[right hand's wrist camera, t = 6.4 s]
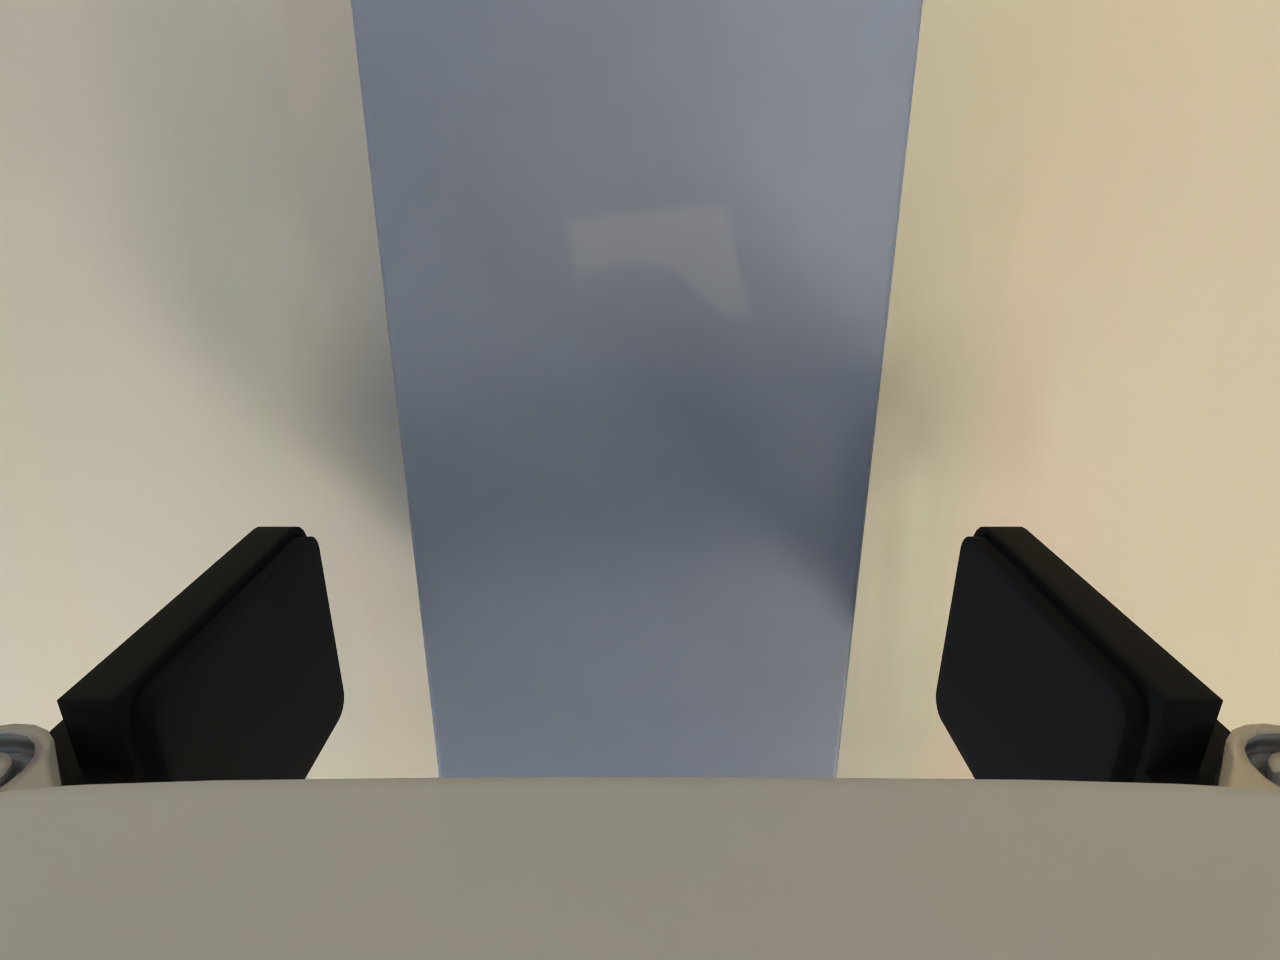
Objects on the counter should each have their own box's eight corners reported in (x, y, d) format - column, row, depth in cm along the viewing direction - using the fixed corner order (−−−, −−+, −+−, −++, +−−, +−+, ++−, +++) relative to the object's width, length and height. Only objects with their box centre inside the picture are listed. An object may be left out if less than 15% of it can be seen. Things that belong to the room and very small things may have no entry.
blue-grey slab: (477, -60, 15) (310, -336, 8) (798, -59, 15) (963, -335, 8) (520, 622, 21) (448, 870, 13) (757, 622, 21) (827, 869, 13)
